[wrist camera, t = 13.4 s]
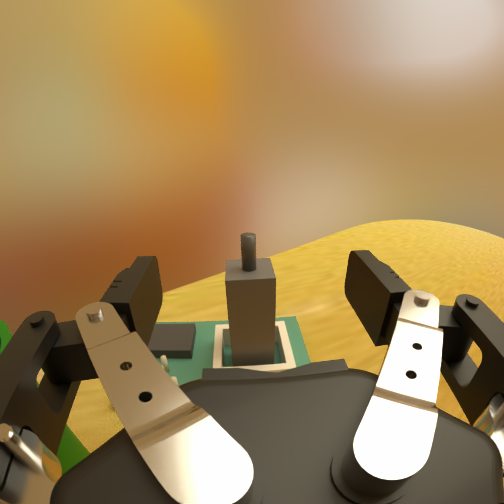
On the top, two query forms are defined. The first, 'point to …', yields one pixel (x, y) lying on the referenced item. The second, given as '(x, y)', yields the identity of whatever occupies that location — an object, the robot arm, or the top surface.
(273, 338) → the plug
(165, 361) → the board
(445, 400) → the top surface
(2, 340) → the green pen holder
